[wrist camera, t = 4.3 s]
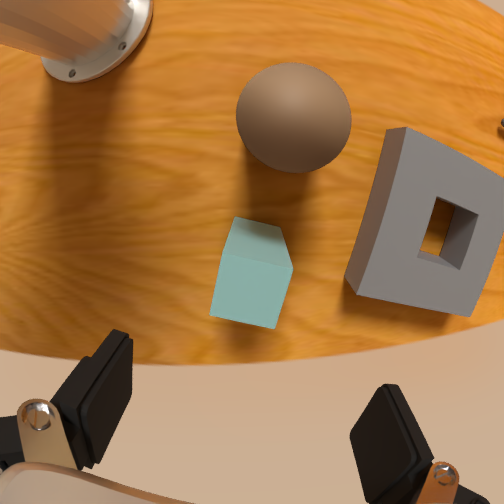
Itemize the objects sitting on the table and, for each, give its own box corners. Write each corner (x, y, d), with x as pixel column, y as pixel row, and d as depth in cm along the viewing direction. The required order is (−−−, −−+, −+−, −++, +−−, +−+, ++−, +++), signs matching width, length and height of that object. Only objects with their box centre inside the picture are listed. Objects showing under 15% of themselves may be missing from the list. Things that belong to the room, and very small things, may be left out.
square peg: (234, 216, 26) (222, 252, 17) (280, 227, 27) (293, 269, 17) (225, 259, 28) (209, 314, 18) (268, 269, 28) (274, 329, 18)
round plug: (253, 89, 23) (251, 51, 13) (323, 107, 23) (361, 82, 14) (236, 156, 25) (224, 157, 15) (306, 173, 25) (336, 186, 16)
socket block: (386, 129, 24) (406, 126, 20) (491, 180, 24) (515, 186, 21) (344, 276, 28) (356, 294, 24) (451, 300, 29) (469, 317, 25)
